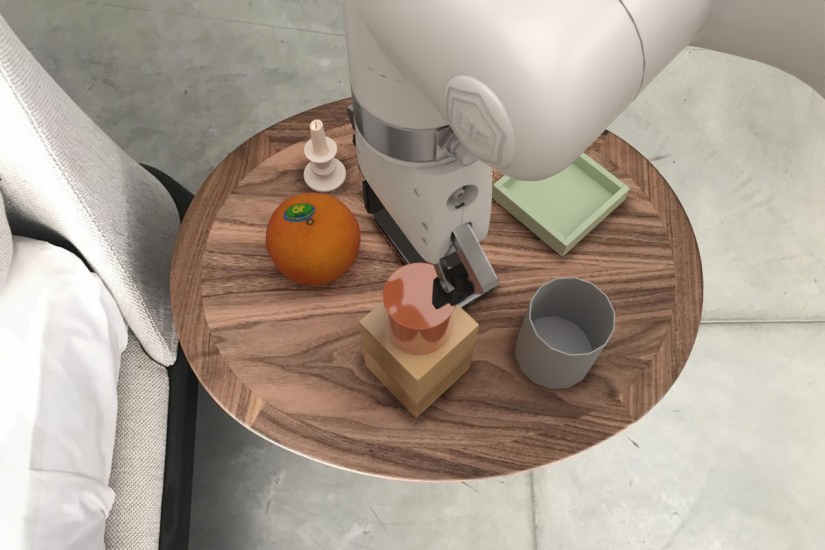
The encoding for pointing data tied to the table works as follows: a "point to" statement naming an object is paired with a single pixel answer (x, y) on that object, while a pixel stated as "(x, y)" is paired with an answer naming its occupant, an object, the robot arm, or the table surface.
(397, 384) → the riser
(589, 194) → the tray
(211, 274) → the table surface
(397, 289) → the orange cylinder puck
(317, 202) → the fruit
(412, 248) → the smartphone
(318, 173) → the candle
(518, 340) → the cup
